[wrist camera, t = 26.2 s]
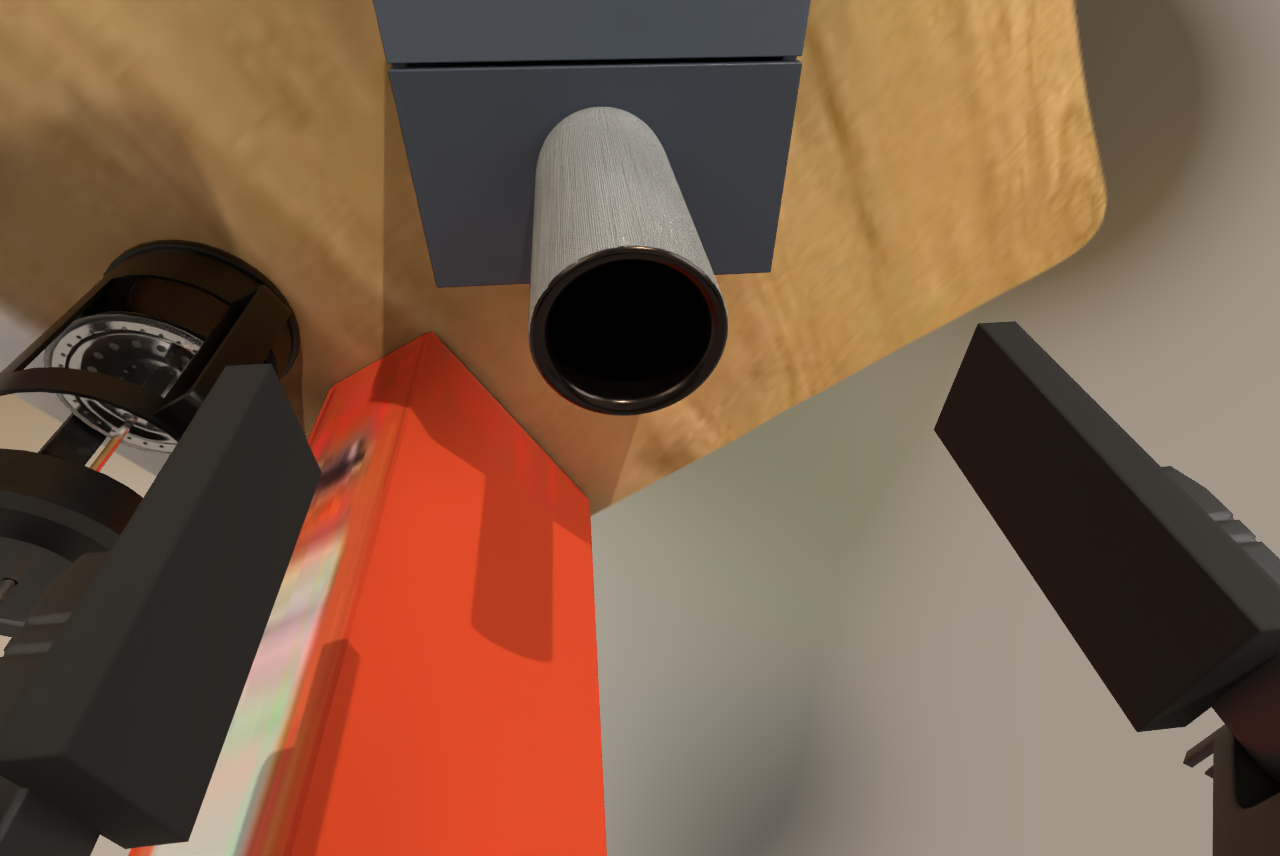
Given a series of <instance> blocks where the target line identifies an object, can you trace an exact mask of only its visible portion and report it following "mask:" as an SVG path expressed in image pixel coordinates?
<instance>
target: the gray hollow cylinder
mask: <svg viewBox="0 0 1280 856" xmlns="http://www.w3.org/2000/svg"><path fill="white" fill-rule="evenodd" d="M727 335H728V315H727V309H726V305H725V302H724V299H723V296H722V294H721V291H720V288H719V286H718V283H717V281H716V278H715V276H714V273H713V271H712V268H711V266H710V263H709V261H708V258H707V256H706V253H705V251H704V248H703V246H702V243H701V241H700V238H699V236H698V233H697V231H696V228H695V226H694V223H693V221H692V218H691V216H690V213H689V211H688V208H687V206H686V203H685V201H684V198H683V196H682V193H681V191H680V188H679V186H678V183H677V181H676V178H675V176H674V173H673V171H672V168H671V166H670V163H669V161H668V158H667V156H666V153H665V151H664V149H663V147H662V145H661V143H660V141H659V140H658V138H657V136H656V135H655V134H654V132H653V131H652V130H651V129H650V127H649V126H648V125H647V124H646V123H644V122H643V121H642V120H641V119H639V118H638V117H636V116H635V115H633V114H631V113H629V112H627V111H624V110H621V109H617V108H613V107H591V108H586V109H583V110H580V111H577V112H575V113H573V114H571V115H569V116H568V117H566V118H565V119H563V120H562V121H561V122H560V123H558V124H557V125H556V126H555V127H554V128H553V130H552V131H551V132H550V133H549V135H548V136H547V138H546V140H545V141H544V143H543V146H542V148H541V150H540V154H539V157H538V162H537V167H536V178H535V199H534V219H533V240H532V261H531V282H530V303H529V326H528V337H529V347H530V351H531V355H532V358H533V361H534V363H535V365H536V368H537V369H538V371H539V373H540V374H541V376H542V377H543V379H544V380H545V381H546V382H547V384H548V385H549V386H550V387H551V388H552V389H553V390H554V391H555V392H557V393H558V394H559V395H560V396H562V397H563V398H565V399H566V400H568V401H569V402H571V403H573V404H575V405H577V406H579V407H582V408H584V409H587V410H590V411H593V412H597V413H602V414H608V415H621V416H623V415H638V414H645V413H649V412H653V411H657V410H660V409H663V408H665V407H668V406H670V405H672V404H675V403H677V402H678V401H680V400H682V399H684V398H685V397H687V396H688V395H690V394H691V393H692V392H694V391H695V390H696V389H697V388H698V387H699V386H700V385H702V384H703V383H704V381H705V380H706V379H707V378H708V377H709V376H710V374H711V373H712V372H713V370H714V369H715V367H716V366H717V364H718V362H719V360H720V358H721V356H722V354H723V351H724V348H725V344H726V340H727Z"/></svg>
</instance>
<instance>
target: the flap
mask: <svg viewBox="0 0 1280 856" xmlns="http://www.w3.org/2000/svg"><path fill="white" fill-rule="evenodd" d="M810 1H811V0H373V4H374V8H375V13H376V17H377V22H378V26H379V30H380V35H381V39H382V43H383V48H384V52H385V57H386V61H387V63H389V64H395V63H450V62H505V61H560V60H615V59H670V58H726V57H781V56H802V53H803V47H804V40H805V34H806V27H807V21H808V14H809V8H810Z"/></svg>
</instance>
